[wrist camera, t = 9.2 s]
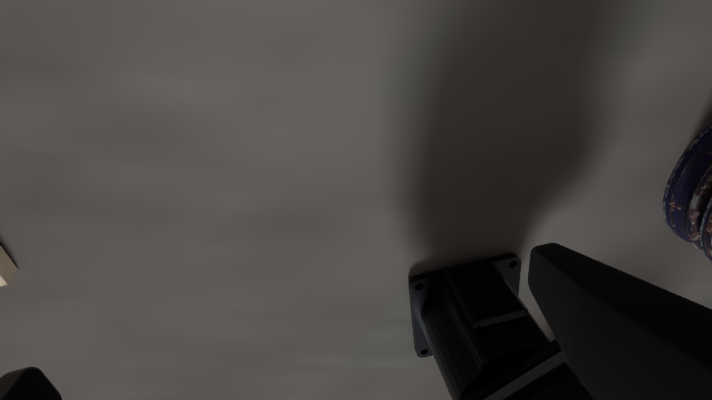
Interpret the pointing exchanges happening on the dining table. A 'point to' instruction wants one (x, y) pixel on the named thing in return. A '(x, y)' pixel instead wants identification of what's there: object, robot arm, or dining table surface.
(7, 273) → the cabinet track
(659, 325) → the robot arm
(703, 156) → the storage jar
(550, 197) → the dining table surface
